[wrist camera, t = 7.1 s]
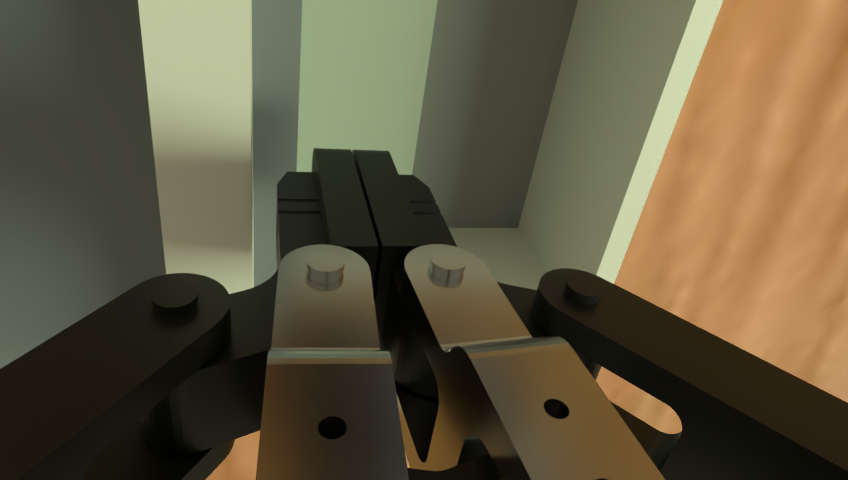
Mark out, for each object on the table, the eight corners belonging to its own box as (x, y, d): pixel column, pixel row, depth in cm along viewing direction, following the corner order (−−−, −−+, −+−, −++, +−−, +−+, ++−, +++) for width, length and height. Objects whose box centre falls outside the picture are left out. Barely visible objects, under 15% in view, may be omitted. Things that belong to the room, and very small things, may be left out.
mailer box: (-108, -303, 14) (-353, -398, 8) (630, -157, 19) (782, -154, 14) (24, 233, 22) (-58, 369, 16) (524, 233, 27) (593, 336, 22)
